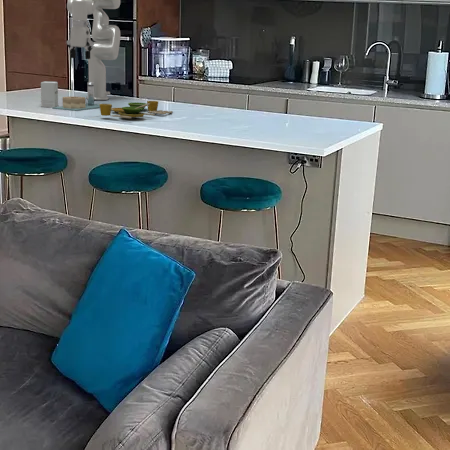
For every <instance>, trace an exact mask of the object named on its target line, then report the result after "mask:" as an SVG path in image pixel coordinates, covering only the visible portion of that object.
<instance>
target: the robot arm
mask: <svg viewBox="0 0 450 450" xmlns="http://www.w3.org/2000/svg"><path fill="white" fill-rule="evenodd" d="M120 5H121V0H67V3H66V9H67V11H68V13H69V14H71V18H72V19H71V21H72V26H71V28H70V29H71V31H70V39H68V40H67V41H66V44H67V48H68V49H69V51H70V59H76V58H77V57H76V54H77V53H76V50H75V49H76V48H84V49H85V51H84V52H85V54H84V55H85V59H86V60H87V61H88V82H94V101H106V100H107V101H108V100H109V96H110V95H111V91H107V82H106V81H107V78H106V77H107V73H106V71H107V70H106V65H105V64H104V63H103V61H104V60H105V61H106V60H107V61H114V60H115V61H116V60H117V58H118V56H119V51H120V50H119V49H120V44H121V42H120V41H121V30H120V28H119V26H117V25H114V24H110V23H109V22H110V18H109V16H108V14H107V13H106V12H105V11H104V10H116V9H119V8H120ZM103 9H104V10H103ZM88 15H93V21H92V29H91V33H90V28H89V27H88V25H89V24H90V23H89V22H88ZM91 38H92V40H91ZM85 100H88V96H86V97H85Z"/></svg>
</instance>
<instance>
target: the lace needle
mask: <svg viewBox="0 0 450 450" xmlns="http://www.w3.org/2000/svg"><path fill="white" fill-rule="evenodd" d="M87 97H88V99H87V103H88V106H94V104H95V100H94V82H89V81H87Z"/></svg>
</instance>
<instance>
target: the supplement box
mask: <svg viewBox="0 0 450 450" xmlns="http://www.w3.org/2000/svg"><path fill="white" fill-rule="evenodd" d="M58 85H59V84H58V81H41V82H40V103H41V104H40V105H41V107H42V108H52V107H59V86H58Z"/></svg>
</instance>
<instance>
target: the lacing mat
mask: <svg viewBox="0 0 450 450" xmlns="http://www.w3.org/2000/svg"><path fill="white" fill-rule="evenodd" d="M85 104H86V108H81V109H70V108H63V105H61V106H56V107H51V108H52V109H53V110H62V111H63V110H64V111H70V112H72V111H74V112H79V111H88V110H93V109H100V105H99V104H100V103H98V104H97V103H94V106H88V102H87V103H85Z"/></svg>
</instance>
